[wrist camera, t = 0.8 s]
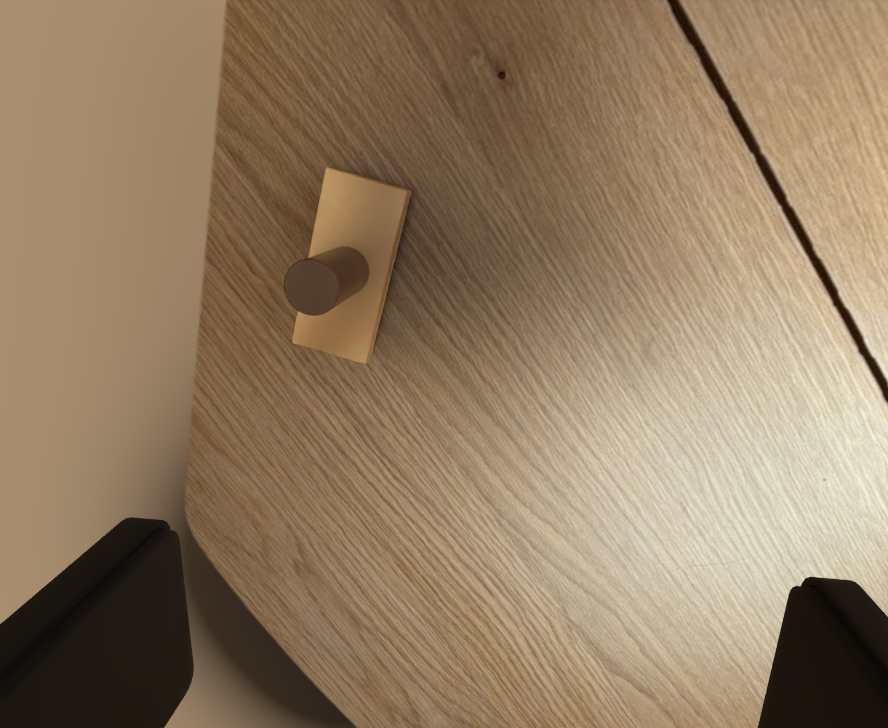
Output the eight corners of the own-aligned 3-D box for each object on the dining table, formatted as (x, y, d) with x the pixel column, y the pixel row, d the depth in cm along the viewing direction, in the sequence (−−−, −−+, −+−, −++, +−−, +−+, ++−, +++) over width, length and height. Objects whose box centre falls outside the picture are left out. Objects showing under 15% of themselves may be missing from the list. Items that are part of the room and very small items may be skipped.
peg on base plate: (308, 331, 37) (246, 374, 28) (341, 168, 34) (283, 162, 25) (376, 351, 37) (336, 400, 28) (416, 190, 34) (383, 190, 25)
